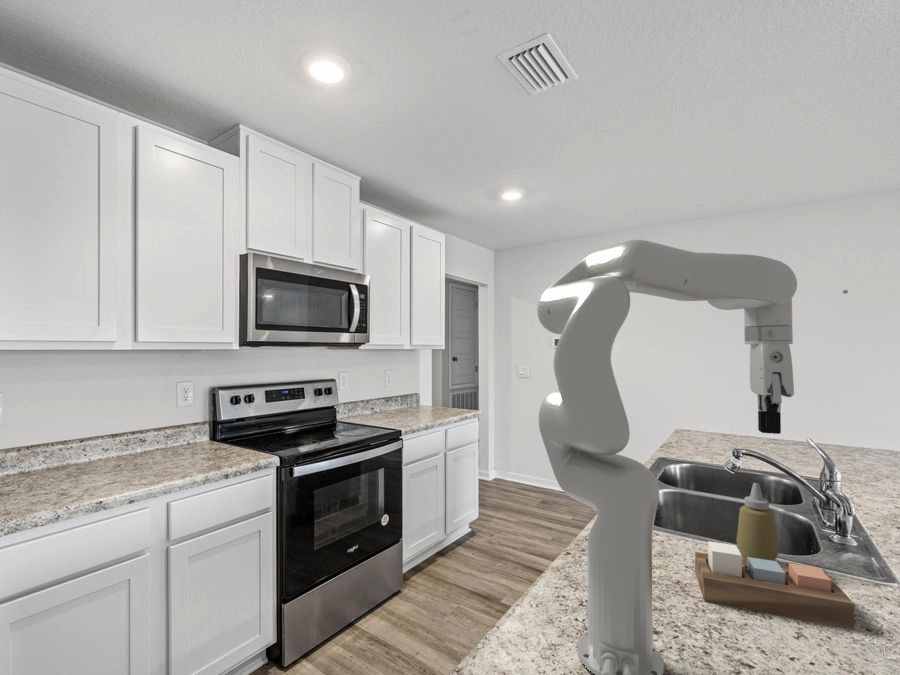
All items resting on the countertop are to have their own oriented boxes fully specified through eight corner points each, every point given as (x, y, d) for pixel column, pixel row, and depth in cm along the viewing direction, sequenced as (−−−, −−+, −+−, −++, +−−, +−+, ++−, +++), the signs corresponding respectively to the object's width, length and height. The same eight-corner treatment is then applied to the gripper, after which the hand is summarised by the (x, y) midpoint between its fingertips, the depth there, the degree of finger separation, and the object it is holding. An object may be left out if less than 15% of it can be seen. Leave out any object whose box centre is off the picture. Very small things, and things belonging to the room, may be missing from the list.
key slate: (785, 601, 84) (784, 572, 84) (754, 595, 86) (753, 567, 86) (777, 588, 88) (776, 561, 89) (747, 583, 90) (747, 556, 90)
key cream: (741, 583, 86) (741, 555, 87) (712, 577, 88) (712, 551, 89) (736, 571, 91) (735, 545, 91) (708, 566, 93) (708, 541, 93)
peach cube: (831, 609, 81) (830, 580, 81) (798, 603, 83) (797, 574, 83) (820, 595, 86) (819, 567, 86) (789, 590, 88) (788, 563, 88)
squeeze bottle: (738, 551, 108) (737, 476, 108) (780, 561, 102) (779, 483, 103) (734, 563, 101) (733, 484, 102) (778, 574, 96) (776, 491, 97)
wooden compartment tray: (854, 629, 77) (853, 603, 77) (704, 601, 86) (703, 577, 86) (825, 594, 88) (825, 572, 88) (695, 572, 97) (695, 551, 97)
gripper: (806, 335, 77) (808, 441, 76) (779, 337, 90) (780, 427, 90) (755, 335, 79) (756, 438, 79) (736, 337, 93) (737, 425, 93)
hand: (769, 432), depth 84 cm, fingers closed
